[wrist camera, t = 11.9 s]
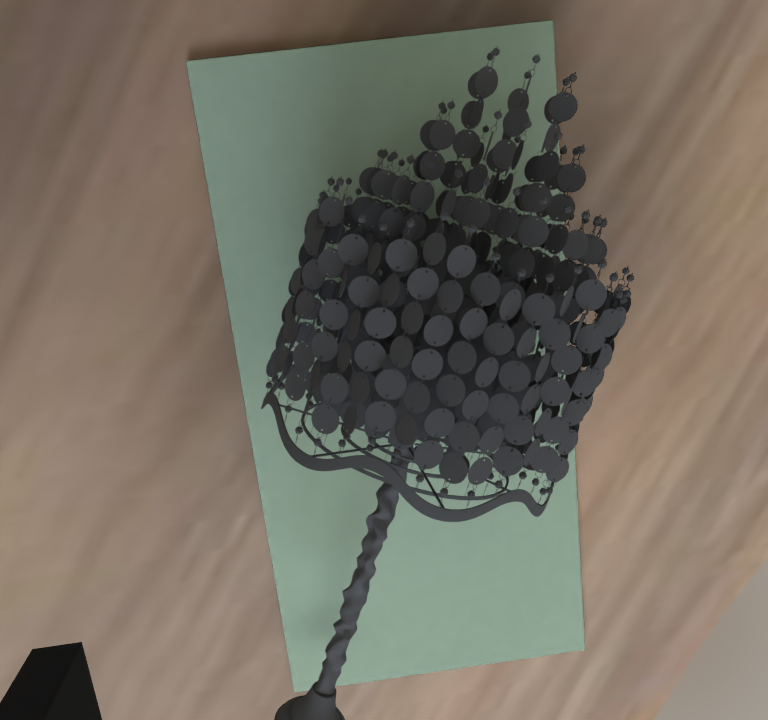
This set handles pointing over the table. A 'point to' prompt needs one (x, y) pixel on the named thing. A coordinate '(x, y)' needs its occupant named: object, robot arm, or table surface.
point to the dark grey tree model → (445, 331)
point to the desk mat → (258, 340)
